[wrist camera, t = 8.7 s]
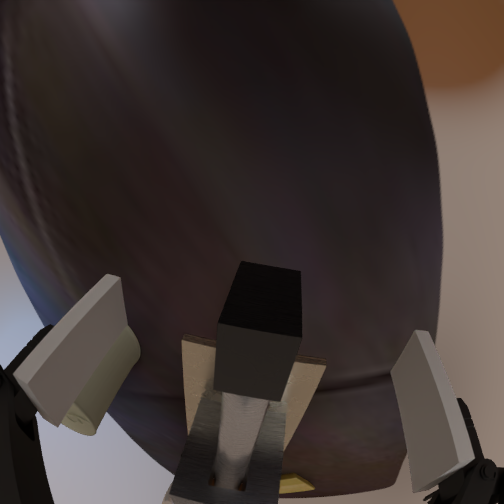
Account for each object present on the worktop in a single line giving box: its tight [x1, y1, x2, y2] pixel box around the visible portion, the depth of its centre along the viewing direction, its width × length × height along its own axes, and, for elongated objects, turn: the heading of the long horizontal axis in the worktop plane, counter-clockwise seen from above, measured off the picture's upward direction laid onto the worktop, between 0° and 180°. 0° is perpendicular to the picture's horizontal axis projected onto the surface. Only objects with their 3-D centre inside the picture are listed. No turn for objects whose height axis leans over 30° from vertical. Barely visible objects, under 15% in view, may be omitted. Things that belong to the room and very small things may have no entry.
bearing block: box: [169, 334, 326, 504], centre depth 26 cm, size 26×14×14 cm, turn 173°
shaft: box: [213, 261, 302, 491], centre depth 18 cm, size 27×3×5 cm, turn 173°
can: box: [61, 325, 141, 436], centre depth 24 cm, size 9×9×12 cm
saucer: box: [279, 473, 315, 493], centre depth 41 cm, size 9×9×2 cm
